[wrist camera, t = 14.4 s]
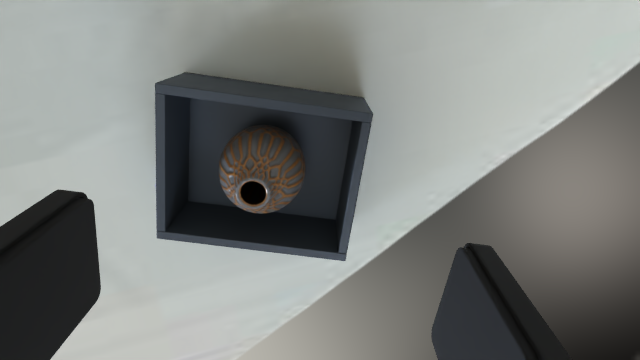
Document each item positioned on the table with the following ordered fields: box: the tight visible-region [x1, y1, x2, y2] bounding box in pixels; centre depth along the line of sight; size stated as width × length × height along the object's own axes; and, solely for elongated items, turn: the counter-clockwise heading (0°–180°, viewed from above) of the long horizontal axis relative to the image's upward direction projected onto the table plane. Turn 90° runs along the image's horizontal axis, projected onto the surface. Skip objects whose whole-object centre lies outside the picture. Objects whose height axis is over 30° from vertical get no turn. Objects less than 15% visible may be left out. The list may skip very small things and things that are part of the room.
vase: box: [219, 125, 305, 214], centre depth 32 cm, size 7×7×9 cm
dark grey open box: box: [155, 72, 373, 261], centre depth 33 cm, size 12×15×7 cm
